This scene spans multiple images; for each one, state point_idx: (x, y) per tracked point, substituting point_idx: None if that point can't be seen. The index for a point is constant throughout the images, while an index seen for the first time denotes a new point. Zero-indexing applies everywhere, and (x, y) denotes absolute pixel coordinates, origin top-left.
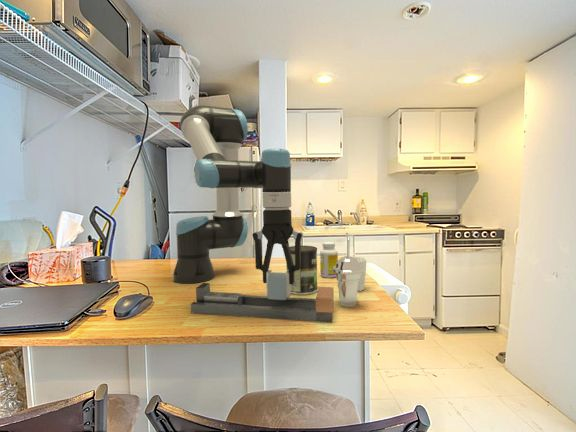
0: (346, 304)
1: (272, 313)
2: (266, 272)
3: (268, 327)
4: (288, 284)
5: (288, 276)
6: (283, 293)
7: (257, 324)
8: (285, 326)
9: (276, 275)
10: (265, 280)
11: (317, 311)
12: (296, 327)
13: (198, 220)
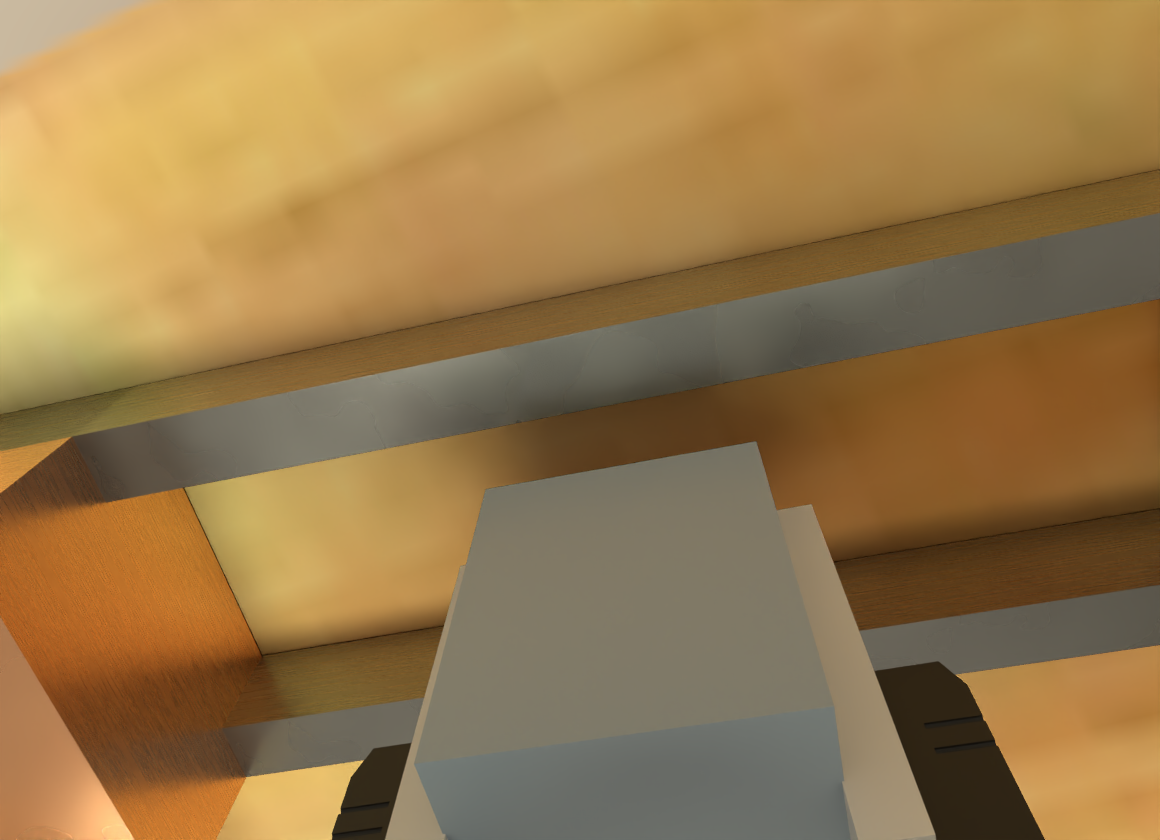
0: None
1: (639, 299)
2: (928, 833)
3: (569, 16)
4: (426, 706)
5: (390, 838)
6: (500, 540)
7: (751, 42)
8: (383, 132)
9: (671, 824)
10: (915, 706)
11: (52, 442)
12: (250, 158)
13: None
